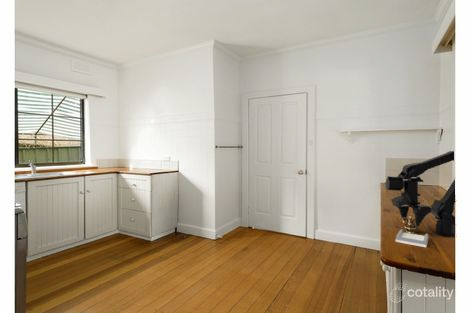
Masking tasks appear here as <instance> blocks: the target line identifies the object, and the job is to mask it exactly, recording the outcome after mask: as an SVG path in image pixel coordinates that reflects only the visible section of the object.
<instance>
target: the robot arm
mask: <svg viewBox="0 0 470 313" xmlns="http://www.w3.org/2000/svg"><path fill="white" fill-rule="evenodd" d="M454 151H455V150H449V151H447V152H445V153H443V154H440V155H437V156H434V157H431V158H429V159H425V160H424V161H420V162H412V163H409V164H405V165H404V166H402V168H401V169H402V171H401V172H400V173H399V174H397V176H390V175H389V176H388V175H387V177H386V180H385V189H386V191H396V192H397V191H399V192H400V191H402V190H403V191H402V192H401V193H400V195H398V196H395V197H393V198H391V199H390V201H391V203H392V206H393V207H395V208H397V209H398V211H399V213H400V217H401V220H402V219H403V218H407V217H408V213H409V209H410V208H411V209H412V213H413V215H414V219H415V220H414V221H415V222H414V223H416V225H415V227H420V225H421V223H422V222H423V220H424V219H425V217H426V216H428V215H430V213H431V214H432V215H433V216H434V218H435V220H436V223H435V230H434V231H433V233H435V234H437V235H439V236H442V237H444V238H445V237H447V238H448V237H449V238H450V236H452V237H453V238H454V237H455V234H456V224H455V217H456V216H454V215H453V213H454V210H455V204H456V201H455V178H454V179H453V181H452V183H450V186H449V187H448V189H447V190H446V192H445V193H444V195H443V196H442V198H440V199H439V200H438V199H434V201H433V203H432V204H431V205H430V206H429V205H427V204H426V205H425V204H421V201H420V202H419V197H421V193H419V183H424V179H422V178H421V177H420V176H421V175H423V174H424V173H425V172H427V171H428V170H430V169H433V168H436V167H438V166H443V165H444V164H447V163H449V162H453V161H454ZM454 162H455V161H454ZM404 220H405V221H407V220H406V219H404ZM455 238H456V237H455Z"/></svg>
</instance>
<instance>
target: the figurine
mask: <svg viewBox="0 0 470 313" xmlns="http://www.w3.org/2000/svg"><path fill="white" fill-rule="evenodd" d="M404 219H406V220H404ZM401 220H402V223H403V224H405V225H404V228H405V229H406V232H405V233H410V234H415V232H414V230H416V229H417V228H416V223H415V222H414V221H415V218H414V219H413V217H412V216H411V215H409V216H408V218H407V217H406V218H403V219H402V218H401ZM412 225H413V226H412Z"/></svg>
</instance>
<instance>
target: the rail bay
mask: <svg viewBox="0 0 470 313" xmlns="http://www.w3.org/2000/svg"><path fill="white" fill-rule="evenodd" d="M395 242H396V243H402V244H404V245H405V244H406V245H411V246H416V247H422V248H427V246H428V243H429V233H425V234H424V235H421V234H416V233H408V232H404V229H401V228H400V229H399V231H398V233H397V234H396V236H395Z"/></svg>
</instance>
